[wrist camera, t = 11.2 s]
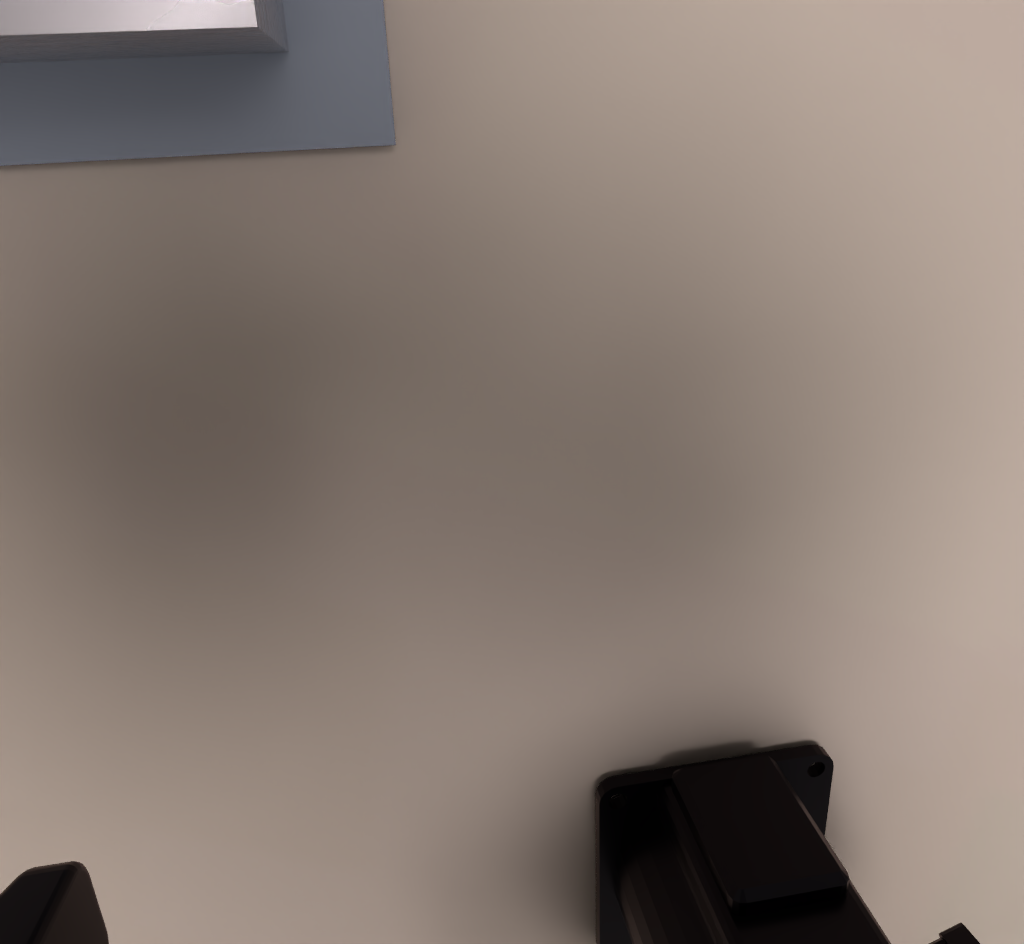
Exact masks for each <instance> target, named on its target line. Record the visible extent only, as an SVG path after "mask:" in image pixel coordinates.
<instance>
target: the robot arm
mask: <svg viewBox="0 0 1024 944" xmlns="http://www.w3.org/2000/svg"><path fill="white" fill-rule="evenodd" d="M813 763H815V764H814V765H812V766H810V765H811V764H813ZM832 774H833V761H832V759H831V758H830V757H829V755H828V754H827V753H826V751H825V750H824V749H823V747H821V746H819V745H807V746H800V747H794V748H788V749H781V750H775V751H769V752H762V753H756V754H750V755H744V756H737V757H731V758H725V759H718V760H712V761H706V762H699V763H693V764H687V765H680V766H674V767H668V768H661V769H655V770H649V771H643V772H636V773H630V774H624V775H617V776H612V777H609V778H606V779H605V780H604V781H602V782H601V783H600V784H599V786H598V787H597V789H596V793H595V827H596V943H597V944H891V943H890V941H889V940H888V938H887V937H886V935H885V934H884V932H883V930H882V929H881V927H880V926H879V924H878V923H877V921H876V920H875V918H874V916H873V915H872V913H871V912H870V910H869V909H868V907H867V906H866V904H865V902H864V901H863V899H862V898H861V896H860V895H859V893H858V892H857V890H856V889H855V887H854V885H853V884H852V882H851V881H850V879H849V876H848V873H847V871H846V870H845V868H844V866H843V865H842V863H841V862H840V860H839V859H838V857H837V856H836V854H835V853H834V851H833V849H832V848H831V846H830V845H829V843H828V842H827V840H826V839H825V837H824V835H825V828H826V820H827V812H828V805H829V797H830V790H831V782H832ZM617 794H621V795H620V796H619V797H616V798H611V797H613V796H614V795H617ZM939 936H940V938H939V939H937V940H935V941H933V942H931V943H929V944H980V943H979V942H978V941H977V939H976V938H975V937H974V936H973V935H972V934H971V933H970V931H969V930H968V929H967V928H966V927H965V926H964V925H963V924H962V923H959V924H957V925H955V926H953V927H951V928H949V929H947V930H945V931H943V932H941V933H939ZM0 944H109V941H108V934H107V930H106V927H105V923H104V920H103V917H102V914H101V911H100V907H99V904H98V901H97V898H96V894H95V891H94V888H93V885H92V882H91V878H90V875H89V873H88V871H87V869H86V867H85V866H84V865H83V864H82V863H80V862H75V861H71V862H65V863H59V864H52V865H46V866H40V867H34V868H31V869H28V870H26V871H25V872H23V873H22V874H20V875H19V876H18V877H17V878H16V879H15V880H14V881H13V882H12V883H11V884H10V885H9V886H8V887H7V888H6V889H5V890H4V891H3V892H2V893H1V894H0Z"/></svg>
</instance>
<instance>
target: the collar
mask: <svg viewBox="0 0 1024 944" xmlns="http://www.w3.org/2000/svg"><path fill="white" fill-rule="evenodd" d="M285 52H289V47H288V39H287V31H286V23H285V15H284V8H283V0H0V63H22V62H49V61H75V60H101V59H128V58H154V57H180V56H206V55H233V54H259V53H285Z"/></svg>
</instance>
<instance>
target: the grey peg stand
mask: <svg viewBox="0 0 1024 944" xmlns="http://www.w3.org/2000/svg"><path fill="white" fill-rule="evenodd" d="M283 8H284V15H285V23H286V31H287V39H288V47H289V52H285V53H259V54H233V55H206V56H180V57H154V58H128V59H101V60H75V61H49V62H22V63H0V166H5V165H24V164H43V163H62V162H81V161H100V160H119V159H138V158H158V157H177V156H196V155H215V154H234V153H253V152H272V151H291V150H310V149H329V148H348V147H367V146H386V145H396V142H395V130H394V119H393V108H392V96H391V85H390V73H389V62H388V50H387V39H386V27H385V16H384V5H383V0H283Z"/></svg>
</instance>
